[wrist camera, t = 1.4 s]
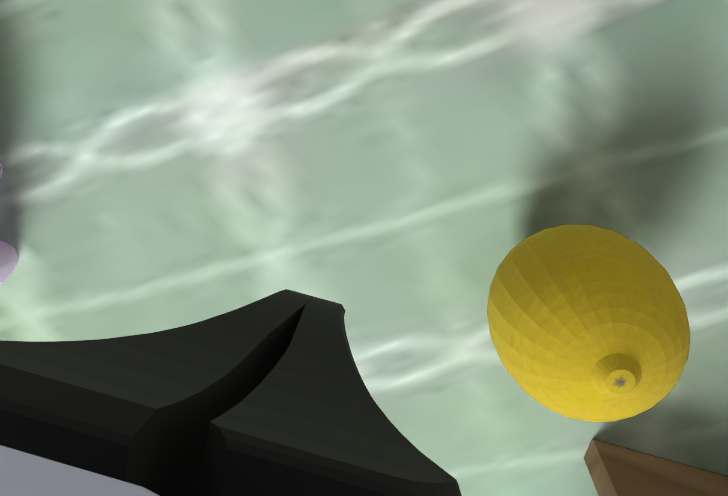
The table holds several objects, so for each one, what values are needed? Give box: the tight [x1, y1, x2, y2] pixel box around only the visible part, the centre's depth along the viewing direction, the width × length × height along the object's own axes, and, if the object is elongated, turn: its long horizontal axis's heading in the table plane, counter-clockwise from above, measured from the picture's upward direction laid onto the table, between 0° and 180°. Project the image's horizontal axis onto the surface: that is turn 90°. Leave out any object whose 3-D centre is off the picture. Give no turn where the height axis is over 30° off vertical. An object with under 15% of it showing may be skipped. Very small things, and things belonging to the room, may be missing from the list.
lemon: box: [487, 225, 690, 422], centre depth 17 cm, size 6×6×8 cm
